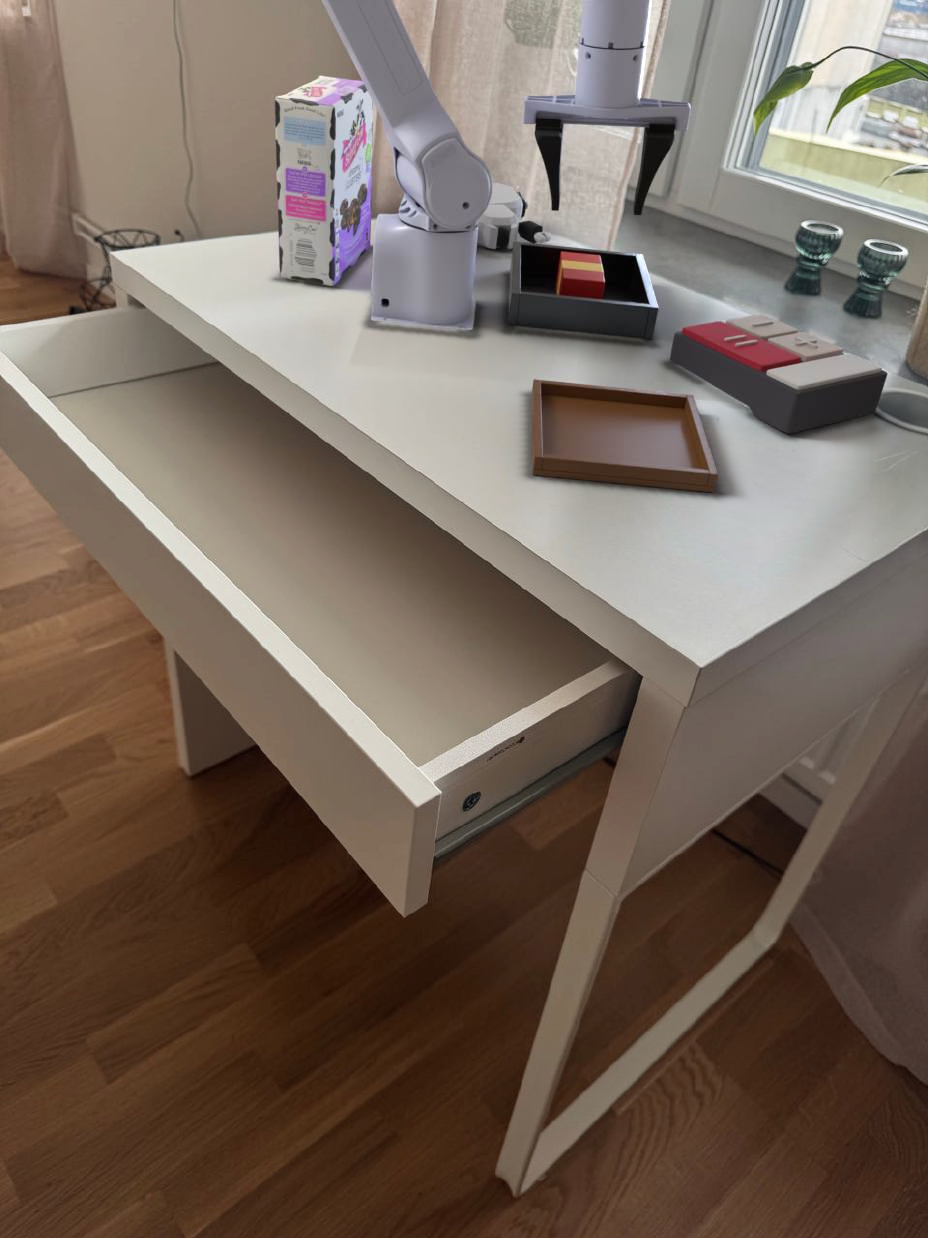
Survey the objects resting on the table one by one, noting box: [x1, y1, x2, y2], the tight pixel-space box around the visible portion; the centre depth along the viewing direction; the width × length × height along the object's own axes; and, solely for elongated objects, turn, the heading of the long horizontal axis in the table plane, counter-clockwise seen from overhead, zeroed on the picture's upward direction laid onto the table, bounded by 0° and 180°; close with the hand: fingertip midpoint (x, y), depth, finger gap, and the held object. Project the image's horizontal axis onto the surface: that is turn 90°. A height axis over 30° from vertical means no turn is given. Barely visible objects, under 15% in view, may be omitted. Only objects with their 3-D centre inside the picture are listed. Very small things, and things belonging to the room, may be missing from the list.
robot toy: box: [477, 182, 551, 250], centre depth 111 cm, size 12×4×15 cm
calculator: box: [669, 313, 888, 434], centre depth 84 cm, size 11×4×15 cm
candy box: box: [274, 75, 374, 287], centre depth 96 cm, size 14×6×16 cm, turn 168°
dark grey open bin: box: [507, 241, 660, 341], centre depth 96 cm, size 14×16×4 cm
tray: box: [530, 379, 719, 493], centre depth 74 cm, size 13×13×2 cm
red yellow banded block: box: [556, 252, 605, 299], centre depth 95 cm, size 4×8×4 cm, turn 177°
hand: (596, 209), depth 91 cm, fingers open, 7 cm apart
